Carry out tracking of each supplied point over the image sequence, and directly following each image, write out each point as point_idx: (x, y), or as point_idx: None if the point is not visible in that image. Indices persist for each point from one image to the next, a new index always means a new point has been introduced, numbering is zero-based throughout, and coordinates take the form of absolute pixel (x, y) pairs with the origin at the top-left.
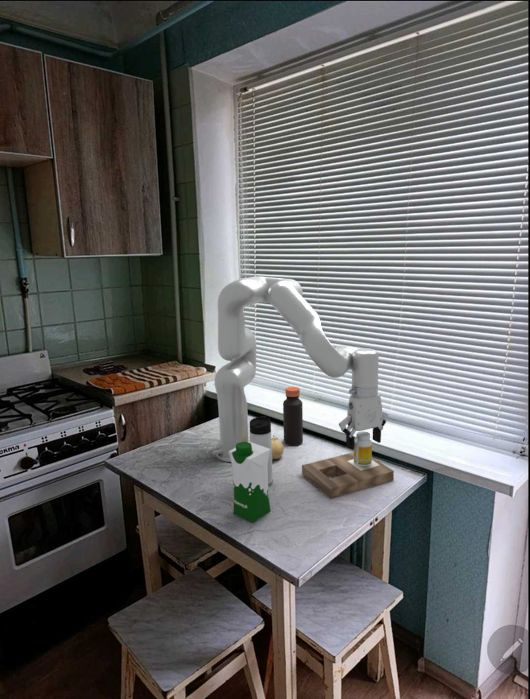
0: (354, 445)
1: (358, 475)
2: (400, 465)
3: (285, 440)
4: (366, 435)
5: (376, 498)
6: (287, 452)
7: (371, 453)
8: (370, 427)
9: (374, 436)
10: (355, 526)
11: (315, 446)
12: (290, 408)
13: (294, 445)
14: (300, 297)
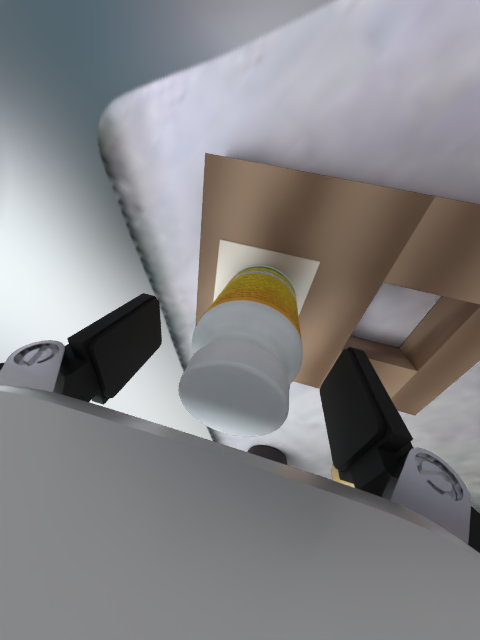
0: (352, 363)
1: (368, 238)
2: (129, 233)
3: None
4: (235, 376)
5: (432, 60)
6: (312, 448)
7: (234, 283)
8: (180, 461)
9: (145, 346)
10: None
11: None
12: None
13: (278, 451)
14: None
